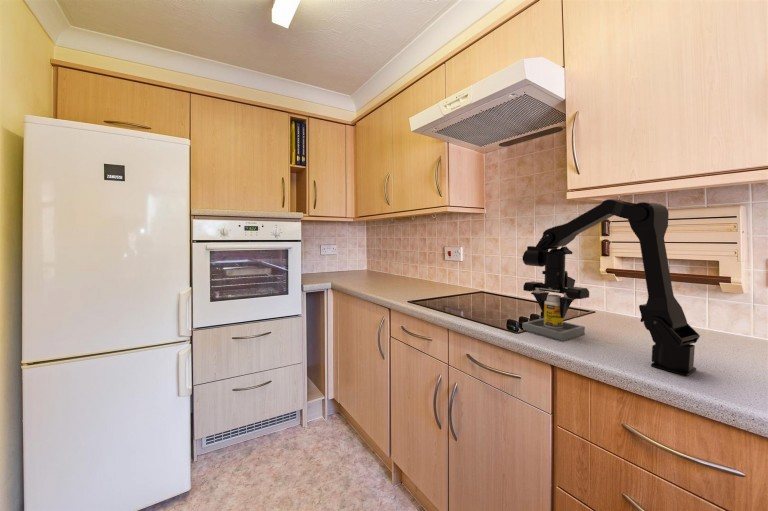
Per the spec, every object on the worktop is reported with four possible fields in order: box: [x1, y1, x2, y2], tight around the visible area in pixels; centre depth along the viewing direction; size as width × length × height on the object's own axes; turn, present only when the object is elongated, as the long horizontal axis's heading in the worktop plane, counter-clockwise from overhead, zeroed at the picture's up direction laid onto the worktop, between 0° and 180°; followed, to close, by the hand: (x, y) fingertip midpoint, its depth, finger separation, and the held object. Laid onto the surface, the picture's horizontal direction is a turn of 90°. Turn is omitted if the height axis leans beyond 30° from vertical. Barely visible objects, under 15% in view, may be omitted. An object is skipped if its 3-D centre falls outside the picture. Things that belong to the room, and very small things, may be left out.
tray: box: [521, 317, 586, 342], centre depth 102 cm, size 13×13×2 cm
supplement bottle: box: [543, 294, 564, 329], centre depth 102 cm, size 6×6×10 cm
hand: (553, 316), depth 102 cm, fingers closed on supplement bottle, 5 cm apart
